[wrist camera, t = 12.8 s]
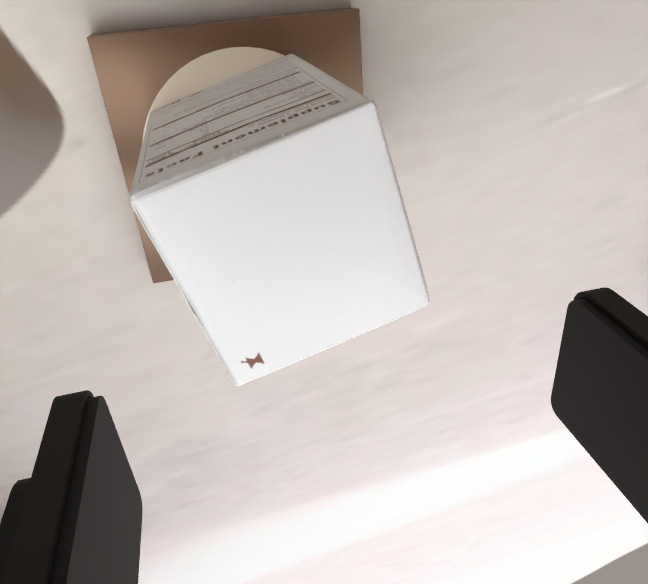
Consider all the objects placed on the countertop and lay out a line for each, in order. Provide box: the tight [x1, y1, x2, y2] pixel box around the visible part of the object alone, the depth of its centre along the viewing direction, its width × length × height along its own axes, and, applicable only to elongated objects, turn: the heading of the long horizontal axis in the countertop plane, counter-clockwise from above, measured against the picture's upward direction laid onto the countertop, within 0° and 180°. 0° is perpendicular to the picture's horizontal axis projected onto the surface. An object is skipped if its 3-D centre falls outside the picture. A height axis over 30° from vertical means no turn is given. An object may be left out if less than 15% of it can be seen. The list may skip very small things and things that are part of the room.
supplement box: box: [129, 54, 430, 386], centre depth 22 cm, size 7×7×13 cm
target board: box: [87, 8, 363, 283], centre depth 28 cm, size 12×12×1 cm
